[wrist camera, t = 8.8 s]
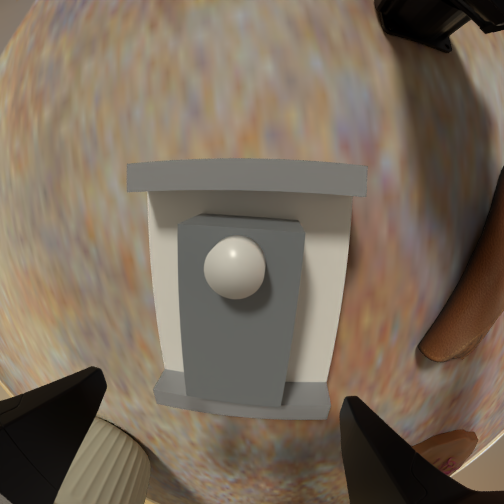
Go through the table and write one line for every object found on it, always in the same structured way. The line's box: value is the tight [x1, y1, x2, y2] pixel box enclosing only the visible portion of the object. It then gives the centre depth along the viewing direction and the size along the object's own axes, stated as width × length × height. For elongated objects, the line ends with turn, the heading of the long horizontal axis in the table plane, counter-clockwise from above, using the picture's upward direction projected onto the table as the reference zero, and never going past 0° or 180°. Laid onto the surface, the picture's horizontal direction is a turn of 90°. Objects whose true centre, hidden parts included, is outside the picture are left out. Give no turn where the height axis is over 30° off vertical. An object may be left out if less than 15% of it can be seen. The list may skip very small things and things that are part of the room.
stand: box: [127, 158, 368, 420], centre depth 17 cm, size 12×16×6 cm
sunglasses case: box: [418, 166, 504, 362], centre depth 16 cm, size 18×7×7 cm, turn 156°
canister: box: [54, 417, 151, 504], centre depth 17 cm, size 18×18×21 cm
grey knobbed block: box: [177, 213, 306, 407], centre depth 14 cm, size 10×6×5 cm, turn 176°
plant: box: [411, 430, 478, 476], centre depth 20 cm, size 20×20×11 cm
